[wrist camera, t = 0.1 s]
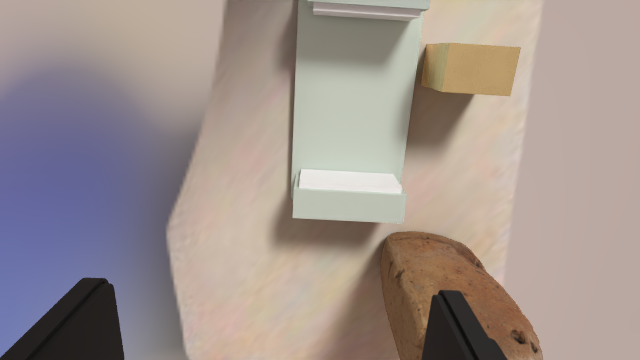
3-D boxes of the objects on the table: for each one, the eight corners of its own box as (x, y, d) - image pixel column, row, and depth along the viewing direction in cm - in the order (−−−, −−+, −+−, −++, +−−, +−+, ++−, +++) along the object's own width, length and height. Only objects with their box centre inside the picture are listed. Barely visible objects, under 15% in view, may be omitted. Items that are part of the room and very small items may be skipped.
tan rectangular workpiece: (426, 44, 38) (449, 42, 31) (485, 48, 38) (520, 47, 32) (420, 85, 39) (441, 91, 33) (477, 88, 40) (509, 96, 33)
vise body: (300, -32, 36) (297, -49, 30) (425, -24, 36) (447, -38, 30) (291, 195, 43) (287, 217, 37) (395, 200, 43) (408, 223, 38)
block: (372, 278, 47) (410, 433, 28) (381, 223, 44) (430, 352, 25) (458, 285, 47) (553, 442, 28) (472, 231, 45) (585, 363, 26)
